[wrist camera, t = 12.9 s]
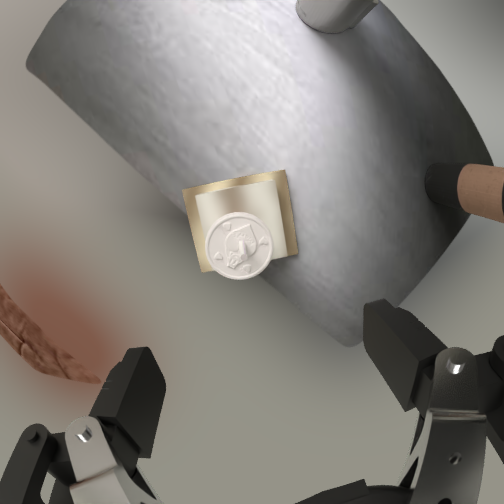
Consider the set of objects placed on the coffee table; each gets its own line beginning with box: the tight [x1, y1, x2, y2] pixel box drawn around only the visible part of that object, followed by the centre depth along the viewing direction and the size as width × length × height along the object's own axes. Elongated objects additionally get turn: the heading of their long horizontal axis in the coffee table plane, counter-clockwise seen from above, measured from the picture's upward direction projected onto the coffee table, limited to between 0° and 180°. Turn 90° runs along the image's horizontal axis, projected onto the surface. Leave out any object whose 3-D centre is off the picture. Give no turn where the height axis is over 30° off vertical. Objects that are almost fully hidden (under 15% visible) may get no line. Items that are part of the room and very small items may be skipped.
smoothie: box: [205, 212, 274, 280], centre depth 28 cm, size 6×6×14 cm
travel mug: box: [425, 163, 504, 223], centre depth 29 cm, size 8×8×20 cm
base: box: [182, 170, 298, 273], centre depth 36 cm, size 14×12×4 cm
